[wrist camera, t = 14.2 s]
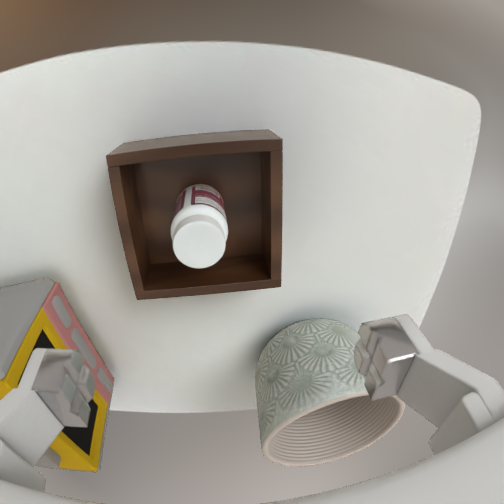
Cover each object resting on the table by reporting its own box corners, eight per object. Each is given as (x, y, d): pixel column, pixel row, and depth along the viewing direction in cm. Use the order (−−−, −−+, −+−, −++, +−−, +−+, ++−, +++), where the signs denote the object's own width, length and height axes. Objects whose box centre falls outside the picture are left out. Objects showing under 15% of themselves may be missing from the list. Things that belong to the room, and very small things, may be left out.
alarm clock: (122, 374, 42) (106, 486, 26) (42, 379, 42) (15, 472, 26) (61, 263, 33) (-6, 385, 17) (-21, 283, 32) (-84, 378, 16)
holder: (123, 143, 28) (105, 155, 23) (268, 129, 29) (282, 138, 24) (145, 268, 35) (136, 300, 30) (270, 257, 36) (281, 287, 31)
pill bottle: (190, 235, 33) (186, 282, 25) (167, 196, 30) (155, 234, 23) (232, 215, 32) (241, 258, 25) (211, 174, 30) (213, 205, 23)
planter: (368, 289, 40) (424, 373, 27) (350, 371, 49) (384, 446, 36) (240, 308, 39) (259, 413, 26) (248, 389, 47) (263, 475, 34)
